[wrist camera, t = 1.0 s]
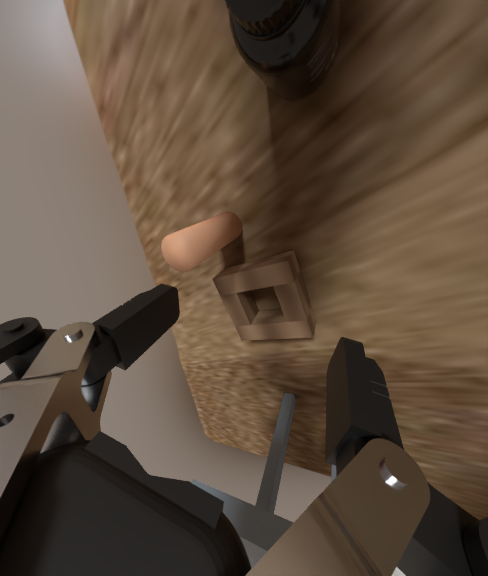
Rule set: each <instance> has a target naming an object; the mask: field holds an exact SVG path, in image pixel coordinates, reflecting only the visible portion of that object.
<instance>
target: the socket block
mask: <svg viewBox="0 0 488 576" xmlns="http://www.w3.org/2000/svg"><path fill="white" fill-rule="evenodd" d="M213 282H214V284H215V286H216V288H217V290H218V292H219V294H220V296H221V298H222V300H223V302H224V304H225V306H226V309H227V311H228V313H229V315H230V317H231V319H232V321H233V323H234V325H235V327H236V329H237V331H238V333H239V336H240V338H241V340H265V339H290V338H313V334H314V328H315V322H316V320H315V317H314V313H313V310H312V307H311V304H310V300H309V297H308V294H307V291H306V288H305V284H304V281H303V278H302V275H301V272H300V268H299V265H298V262H297V259H296V255H295V252H294V250H292V251H288V252H284V253H281V254H277V255H273V256H269V257H266V258H262V259H258V260H254V261H251V262H247V263H243V264H240V265H236V266H232V267H228V268H225V269H223V270H222V271H221V272H220V273H219V274H218V275H216V276H215V277H214V278H213ZM271 286H273V288H274V290H275V293H276V296H277V298H278V301H279V304H280V306H281V308H280V309H271V310H263V311H259V310H258V308H257V306H256V303H255V301H254V298H253V296H252V294H251V291H250V290H255V289H260V288H266V287H271Z"/></svg>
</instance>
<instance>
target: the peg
mask: <svg viewBox="0 0 488 576" xmlns="http://www.w3.org/2000/svg"><path fill="white" fill-rule="evenodd" d="M241 232H242V224H241V221H240V219H239V218H238V216H237V215H235V214H234V213H231V212H225V213H223V214H220V215H218V216H215V217H213V218H210V219H208V220H205V221H202V222H200V223H197V224H195V225H192V226H190V227H187V228H185V229H182V230H180V231H177V232H175V233H172V234H170V235H167V236H166V237H165V238H164V239H163V241H162V245H161V249H162V254H163V256H164V258H165V260H166V262H167V263H168V264H169V265H170V266H171V267H172V268H173V269H175V270H177V271H179V272H187V271H189V270H191V269H192V268H194V267H195V266H197V265H198V264H200V263H201V262H203V261H204V260H205V259H207V258H208V257H210V256H211V255H213V254H214V253H216V252H217V251H219V250H220V249H222V248H223V247H225V246H226V245H228V244H229V243H230V242H232V241H233V240H235V239H236V238H238V237H239V236H240V234H241Z"/></svg>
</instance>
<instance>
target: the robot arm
mask: <svg viewBox="0 0 488 576" xmlns="http://www.w3.org/2000/svg"><path fill="white" fill-rule="evenodd" d="M179 314H180V310H179V299H178V290H177V288H175V287H172V286H169V285H165V284H160V285H158V286H156V287H155V288H153V289H152V290H149V291H147V292H144V293H141V294H139V295H137V296H135V297H134V298H132V299H131V300H130V301H127V302H126V303H124V304H123V305H121V306H119V307H118V308H116V309H114V310H113V311H111V312H110V313H108V314H106V315H105V316H103V317H102V318H100V319H99V320H97V321H95V322H94V323H92V324H91V323H89V322H77V323H72V324H68V325H66V326H64V327H62V328H60V329H58V330H52V329H42V327H41V325H40V323H39V321H38V320H37V319H35V318H31V317H25V318H18V319H14V320H11V321H8V322H5V323H3V324H1V325H0V364H1V363H3V362H5V363H6V365H7V366H8V367H9V369H10V370H11V371H12V374H11V375H9V376H7V377H6V378H4V379H3V380H1V381H0V576H392V574H393V572H394V570H395V568H396V567H397V568H398V569H399V570H400V571H402V572H403V573H404V574H405V575H406V576H488V517H486V518H484V519H481V520H478V519H476V518H475V517H473V516H472V515H471V514H469V513H468V512H466V511H465V510H464V509H462V508H461V507H460V506H458V505H457V504H455V503H454V502H453V501H451V500H450V499H448V498H447V497H446V496H444V495H443V494H442V493H440V492H439V491H438V490H436V489H435V488H434V487H433V486H431V485H430V484H429V483H428V482H427V480H426V478H425V476H424V474H423V472H422V470H421V469H420V467H419V466H418V464H417V463H416V462H415V461H414V460H413V458H412V457H411V456H410V455H409V454H408V453H407V452H406V451H405V450H404V448H403V445H402V441H401V437H400V434H399V430H398V426H397V423H396V419H395V415H394V411H393V408H392V404H391V400H390V399H389V393H388V389H387V388H386V382H385V378H384V374H383V372H382V370H381V369H380V367H379V366H378V365H377V363H376V362H375V360H373V359H370V358H367V357H365V352H364V347H363V344H362V343H361V342H358V341H355V340H351V339H348V338H345V337H341V338H340V340H339V342H338V345H337V347H336V349H335V351H334V353H333V356H332V358H331V360H330V363H329V366H328V370H327V401H326V462H328V463H330V464H332V465H335V466H336V478H335V479H334V480H333V481H332V482H331V484H330V485H329V486H328V487H327V488H326V489H325V490H324V491H323V492H322V493H321V494H320V495H319V496H318V497H317V498H316V499H315V500H314V501H313V502H312V503H311V504H310V506H309V507H308V508H307V509H306V510H305V511H304V512H303V513H302V514H301V515H300V516H299V518H298V519H297V520H296V521H295V522H294V523H293V524H292V525H291V526H290V527H289V529H288V530H287V531H286V532H285V533H284V534H283V535H282V536H281V537H280V538H279V539H278V541H277V542H276V543H275V544H274V545H273V546H272V547H271V548H270V549H269V550H268V551H267V553H266V554H265V555H264V556H263V557H262V558H261V559H260V560H259V561H258V562H257V564H256V565H255V566H254V567H253V568H251V564H250V561H249V558H248V555H247V553H246V550H245V547H244V545H243V542H242V540H241V538H240V536H239V534H238V532H237V531H236V529H235V528H234V526H233V525H232V523H231V521H230V520H229V519H228V518H227V516H226V515H225V514H224V513H223V505H224V501H222V500H221V499H219V498H217V497H215V496H213V495H212V494H210V493H208V492H206V491H205V490H203V489H201V488H199V487H198V486H196V485H194V484H192V483H190V482H189V481H182V480H176V479H170V478H163V477H157V476H151V475H149V474H147V472H146V471H145V470H144V469H143V467H142V466H141V465H140V463H139V462H138V461H137V460H136V458H135V457H134V456H133V454H132V453H131V452H130V451H129V449H128V448H127V446H125V445H124V444H122V443H120V442H118V441H116V440H115V439H113V438H111V437H109V436H108V435H106V434H104V433H102V432H101V429H100V417H101V412H102V409H103V405H104V401H105V397H106V394H107V390H108V387H109V383H110V379H111V375H112V372H111V370H112V369H113V368H114V367H115V366H117V367H119V368H121V369H123V370H126V369H127V368H128V367H130V366H131V364H132V363H134V362H135V361H136V360H137V359H138V358H139V357H140V356H141V355H142V354H143V353H144V352H145V351H146V350H147V349H148V348H149V347H150V346H152V345H153V344H154V343H155V342H156V341H157V340H158V339H159V338H160V337H161V336H162V335H163V334H164V333H165V332H166V331H167V330H168V329H169V328H170V327H171V326H172V325H173V324H175V322H176V321H177V320H178V317H179Z"/></svg>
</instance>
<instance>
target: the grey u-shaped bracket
mask: <svg viewBox="0 0 488 576" xmlns="http://www.w3.org/2000/svg"><path fill="white" fill-rule="evenodd" d="M295 404H296V399H295V396H294V394H291V393H284V397H283V400H282V404H281V408H280V412H279V416H278V420H277V424H276V428H275V432H274V436H273V439H272V443H271V447H270V451H269V455H268V459H267V463H266V467H265V471H264V475H263V479H262V483H261V487H260V491H259V494H258V498H257V502H256V506H254V505H252V504H249V503H247V502H244V501H242V500H240V499H238V498H235V497H233V496H231V495H228V494H226V493H224V492H221V491H219V490H217V489H215V488H212V487H210V486H208V485H205V484H203V483H201V482H198V481H196V480H194V479H193V481H192V484H194V485H196V486H198V487H199V488H201V489H203V490H205V491H206V492H208V493H210V494H212V495H213V496H215V497H217V498H219V499H221V500H222V501H224V505H223V513H224V514H225V515H226V516H227V518H228V519H229V520H230V521H231V523H232V525H233V526H234V528H235V529H236V531H237V532H238V534H239V536H240V538H241V540H242V542H243V545H244V547H245V550H246V553H247V555H248V558H249V561H250V564H251V568H253V567H254V566H255V565H256V564H257V562H258V561H259V560H260V559H261V558H262V557H263V556H264V555H265V554H266V553H267V551H268V550H269V549H270V548H271V547H272V546H273V545H274V544H275V543H276V542H277V541H278V539H279V538H280V537H281V536H282V535H283V534H284V533H285V532H286V531H287V530H288V529H289V527H290V526H291V525H292V524H293V522H291V521H288V520H286V519H284V518H282V517H279V516H277V515H275V514H274V510H275V505H276V500H277V494H278V489H279V484H280V479H281V474H282V469H283V464H284V459H285V454H286V449H287V444H288V439H289V434H290V429H291V424H292V419H293V414H294V409H295ZM335 478H336V466H335V465H332V475H331V482H332V481H333V480H334V479H335Z"/></svg>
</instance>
